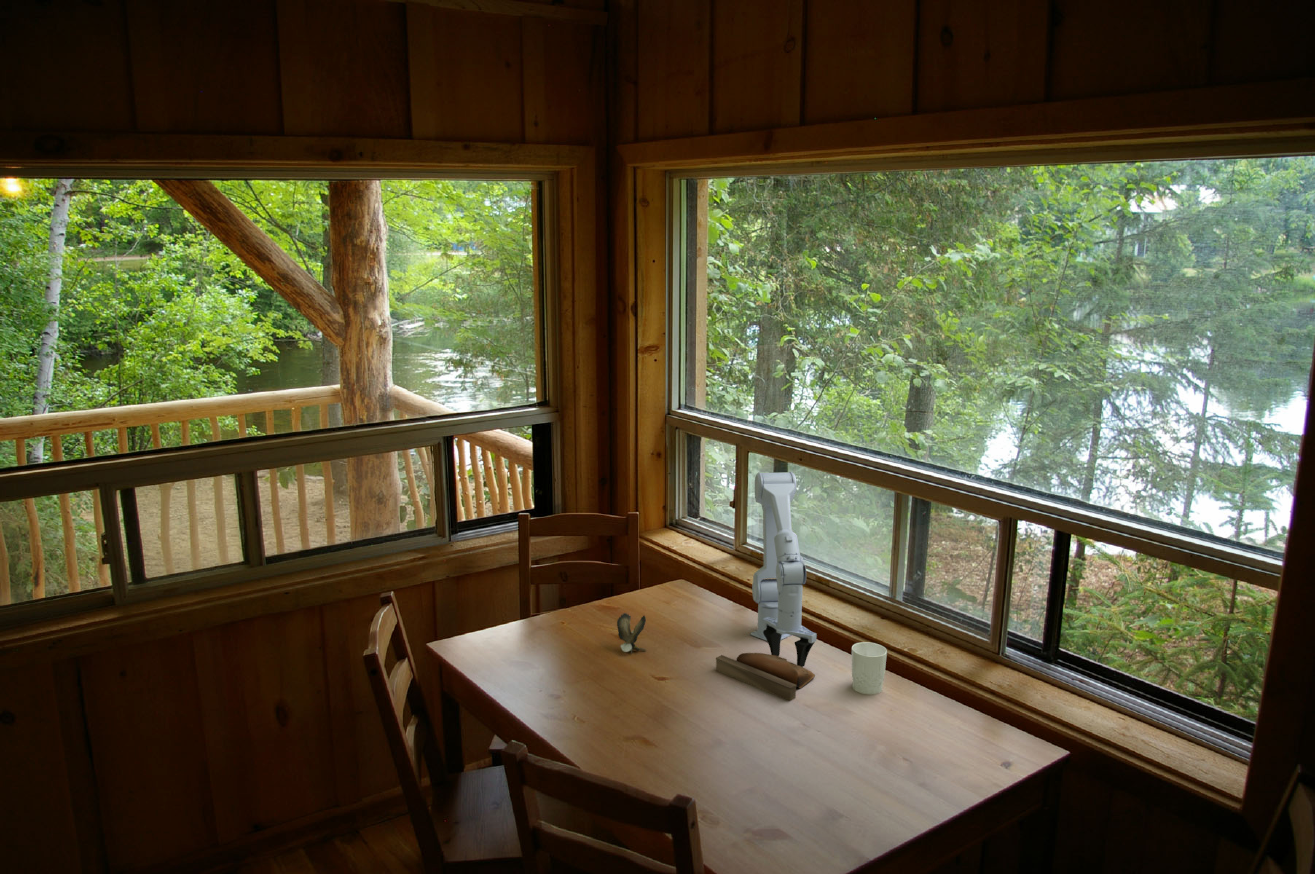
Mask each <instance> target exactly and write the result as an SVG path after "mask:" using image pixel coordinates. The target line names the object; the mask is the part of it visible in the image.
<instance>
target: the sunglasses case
mask: <svg viewBox="0 0 1315 874" xmlns="http://www.w3.org/2000/svg"><path fill="white" fill-rule="evenodd" d="M735 660H736V661H738V662H741V663H743V664H746V665H748V666H750V667H753V668H755V669H758V670H760V671H763V672H765V673H768V674H770V675H773V676H775V677H778V678H780V679H783V680H785V681H788V682H790V683H793V684H795V685H797V687H796V688H798V689H802V688H804V687H805V686H807V685H808V684H809V683H810V682H811V681H812V680H813V679H814V678H815V676H816V674H815V673H814V672H812V671H811V670H808V669H807V668H805V667H804V666H803V667H801V666H798V665H797V663H793V662H791V661H788V660H787V658H786V657H782V656H780V655H779V656H775V655H771V654H768V653H762V652H744V653H743V652H741V653H740V654H739V655H738V656H737V658H736V659H735Z"/></svg>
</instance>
